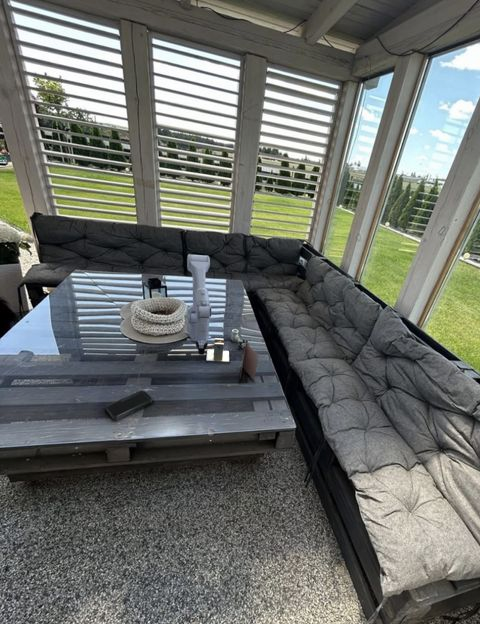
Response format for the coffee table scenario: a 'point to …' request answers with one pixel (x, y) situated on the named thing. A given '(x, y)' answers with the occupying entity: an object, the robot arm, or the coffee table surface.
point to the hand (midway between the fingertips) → (201, 352)
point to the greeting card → (249, 361)
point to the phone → (128, 405)
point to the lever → (212, 345)
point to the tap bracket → (218, 352)
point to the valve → (238, 339)
